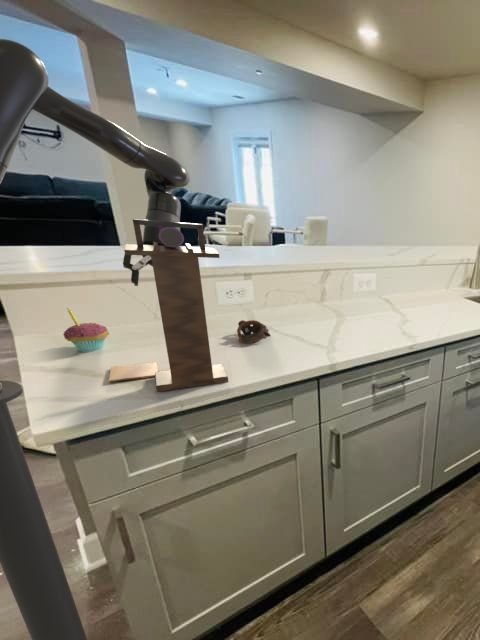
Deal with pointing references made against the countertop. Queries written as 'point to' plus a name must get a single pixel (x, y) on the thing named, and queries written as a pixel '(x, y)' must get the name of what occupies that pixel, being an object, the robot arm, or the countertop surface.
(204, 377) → the stand
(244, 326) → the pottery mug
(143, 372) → the cork coaster
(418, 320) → the countertop surface
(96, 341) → the cupcake
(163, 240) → the plum cup
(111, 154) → the robot arm
